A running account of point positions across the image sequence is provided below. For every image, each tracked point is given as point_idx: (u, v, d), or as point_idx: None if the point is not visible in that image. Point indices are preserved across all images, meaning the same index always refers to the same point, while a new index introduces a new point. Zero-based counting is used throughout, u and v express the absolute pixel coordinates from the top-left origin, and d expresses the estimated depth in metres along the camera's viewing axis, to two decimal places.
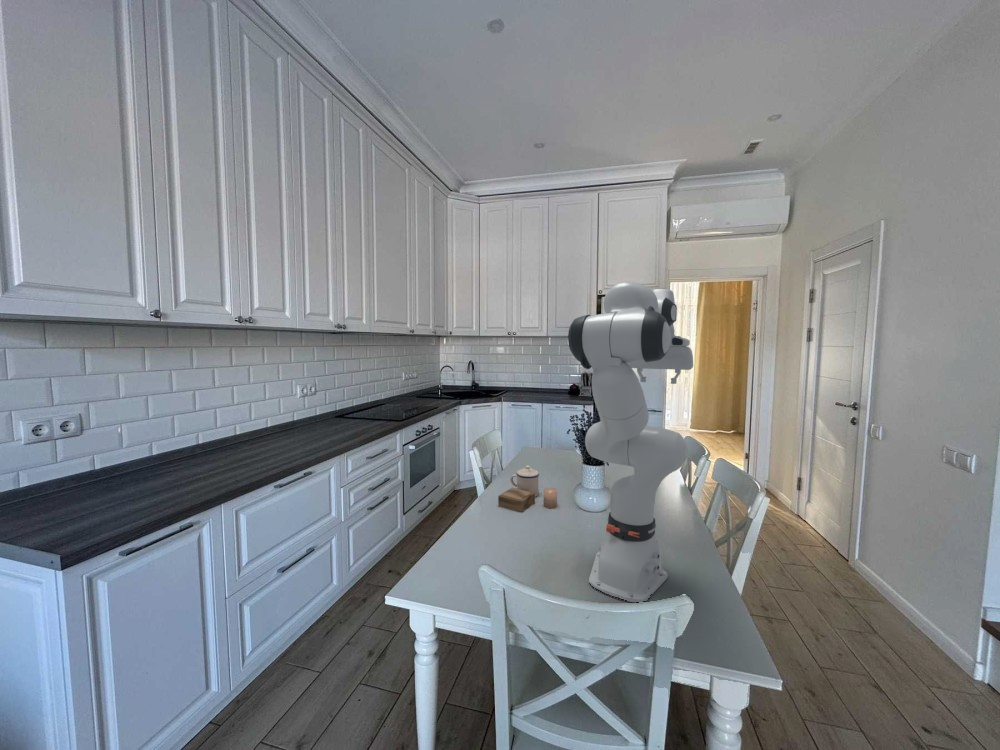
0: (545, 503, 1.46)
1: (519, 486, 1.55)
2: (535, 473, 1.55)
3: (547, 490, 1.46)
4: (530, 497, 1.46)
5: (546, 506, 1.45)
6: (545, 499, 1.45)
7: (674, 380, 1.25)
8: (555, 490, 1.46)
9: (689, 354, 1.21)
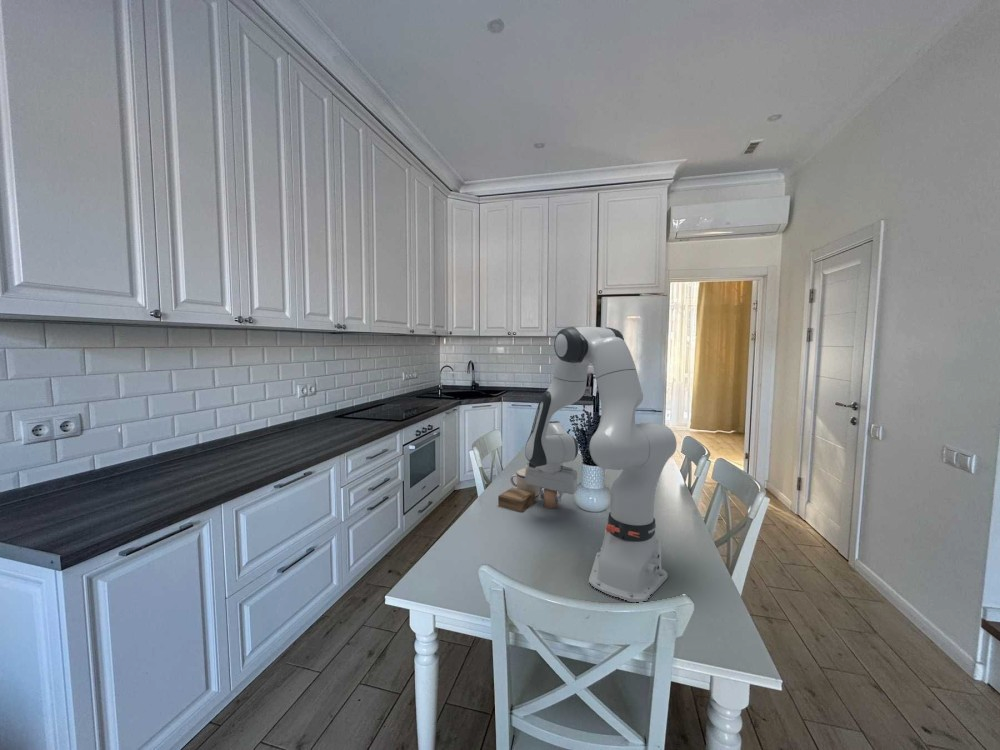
0: (545, 503, 1.46)
1: (519, 486, 1.55)
2: None
3: (547, 490, 1.46)
4: (530, 497, 1.46)
5: (546, 506, 1.45)
6: (545, 499, 1.45)
7: None
8: None
9: None
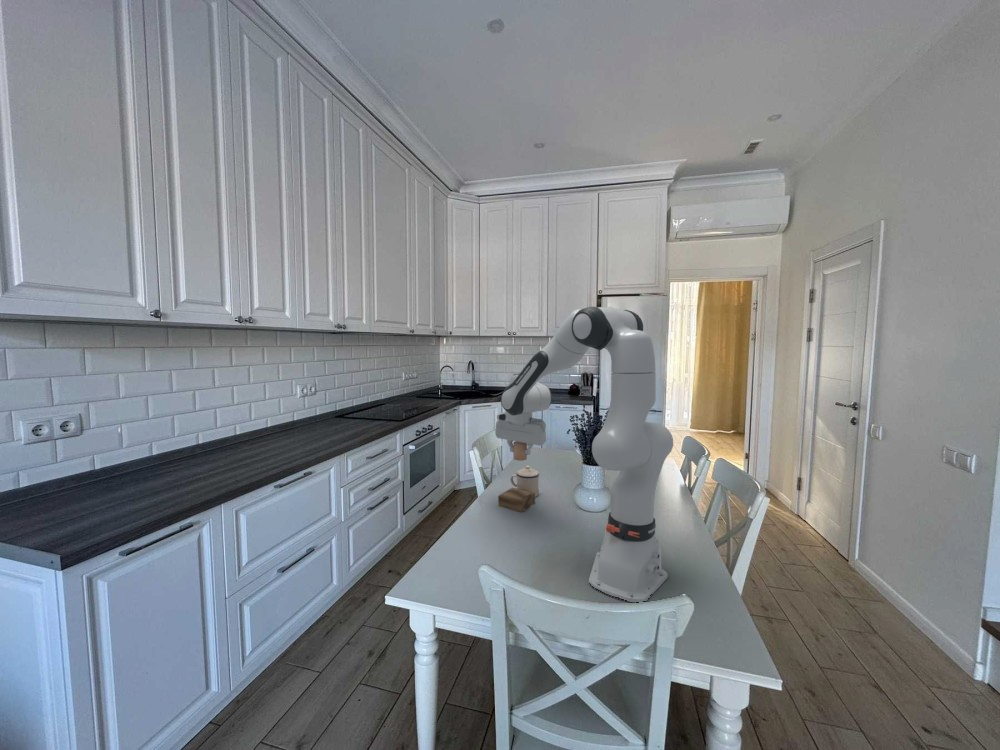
0: (514, 455, 1.45)
1: (519, 486, 1.55)
2: (535, 473, 1.55)
3: (517, 443, 1.46)
4: (530, 497, 1.46)
5: (515, 458, 1.45)
6: (514, 451, 1.45)
7: None
8: (525, 443, 1.46)
9: None
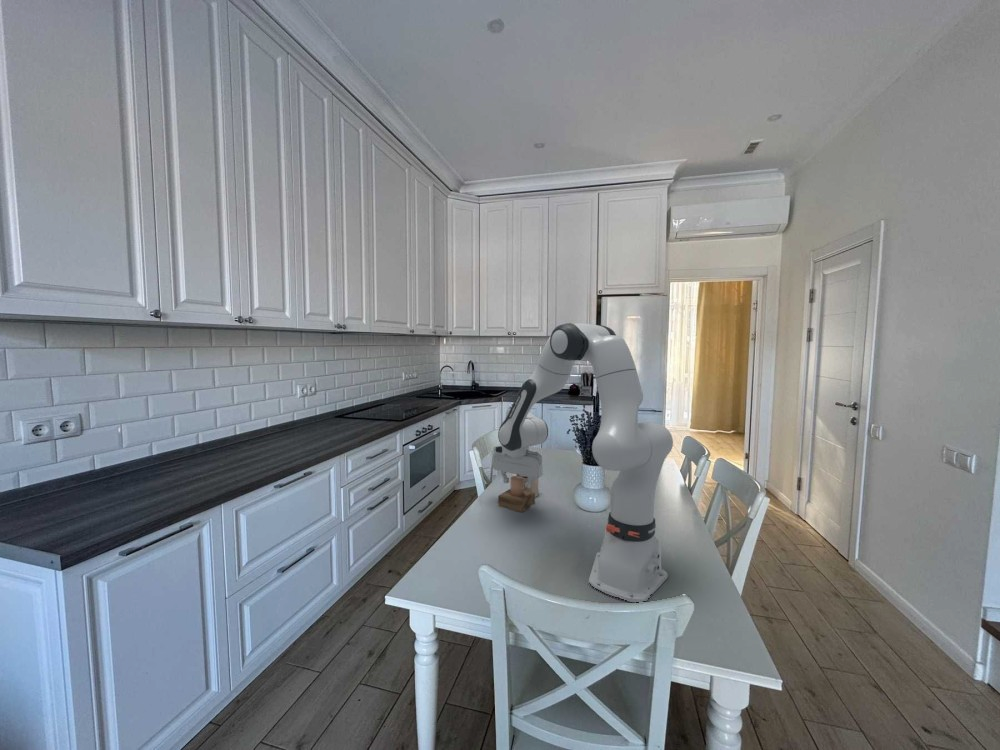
0: (511, 491, 1.46)
1: None
2: None
3: (514, 478, 1.47)
4: (530, 497, 1.46)
5: (512, 494, 1.46)
6: (511, 487, 1.46)
7: None
8: (522, 478, 1.47)
9: None
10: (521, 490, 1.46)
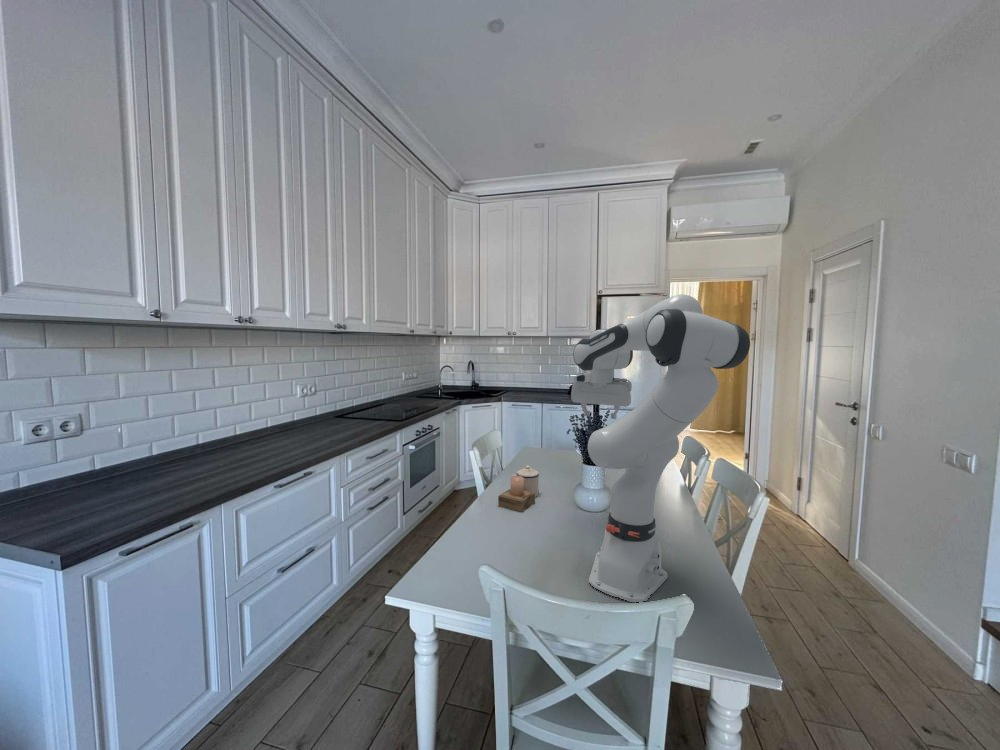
0: (511, 490, 1.46)
1: None
2: (535, 473, 1.55)
3: (514, 478, 1.47)
4: (530, 497, 1.46)
5: (512, 493, 1.46)
6: (511, 487, 1.46)
7: None
8: (522, 478, 1.47)
9: None
10: (521, 490, 1.45)
